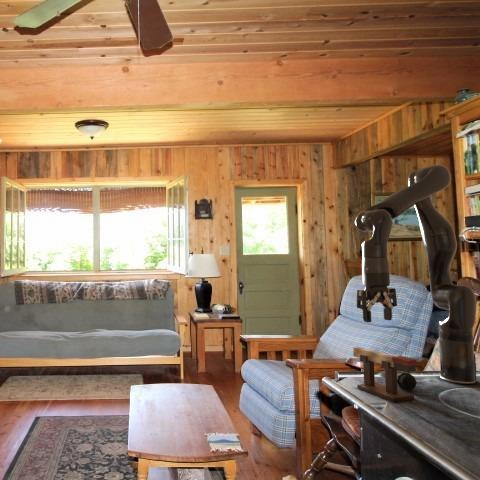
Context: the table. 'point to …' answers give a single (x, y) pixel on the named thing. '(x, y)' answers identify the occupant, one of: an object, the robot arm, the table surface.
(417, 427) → the table surface
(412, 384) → the microphone
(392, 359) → the brush
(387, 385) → the rack
